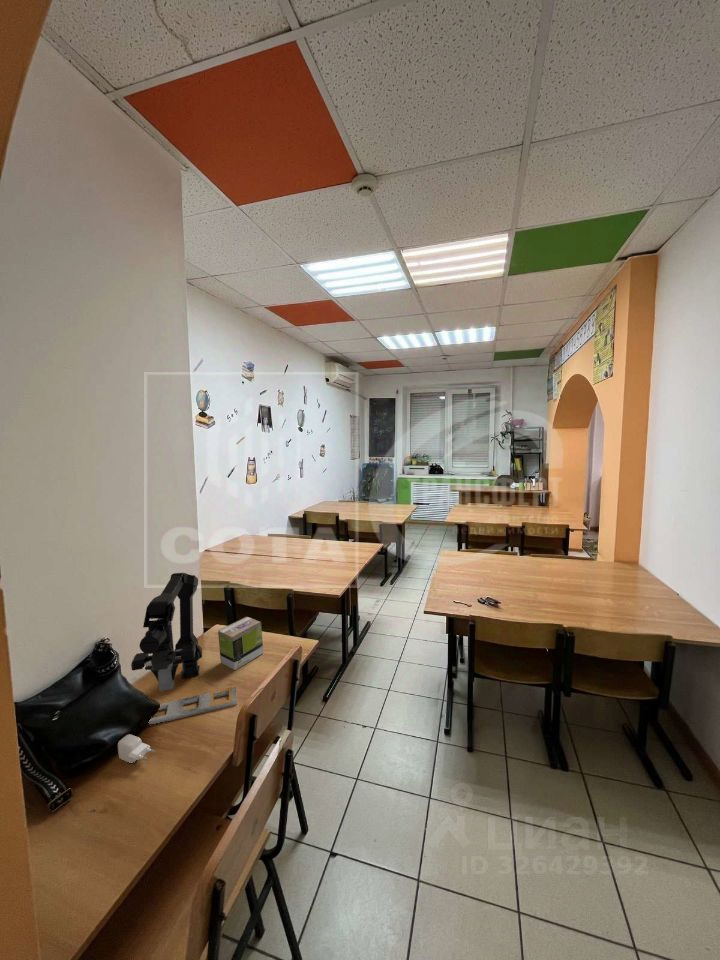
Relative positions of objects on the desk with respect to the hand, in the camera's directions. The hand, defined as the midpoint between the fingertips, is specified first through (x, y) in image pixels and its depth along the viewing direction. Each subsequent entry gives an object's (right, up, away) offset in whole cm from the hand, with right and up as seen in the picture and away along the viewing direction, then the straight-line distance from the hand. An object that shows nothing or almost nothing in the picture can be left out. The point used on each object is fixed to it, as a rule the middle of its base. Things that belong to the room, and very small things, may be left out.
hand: (166, 679), depth 128 cm
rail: (+7, -12, +4) cm, 14 cm away
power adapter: (0, -15, -18) cm, 23 cm away
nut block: (0, -2, 0) cm, 2 cm away
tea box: (+15, -8, +33) cm, 37 cm away
